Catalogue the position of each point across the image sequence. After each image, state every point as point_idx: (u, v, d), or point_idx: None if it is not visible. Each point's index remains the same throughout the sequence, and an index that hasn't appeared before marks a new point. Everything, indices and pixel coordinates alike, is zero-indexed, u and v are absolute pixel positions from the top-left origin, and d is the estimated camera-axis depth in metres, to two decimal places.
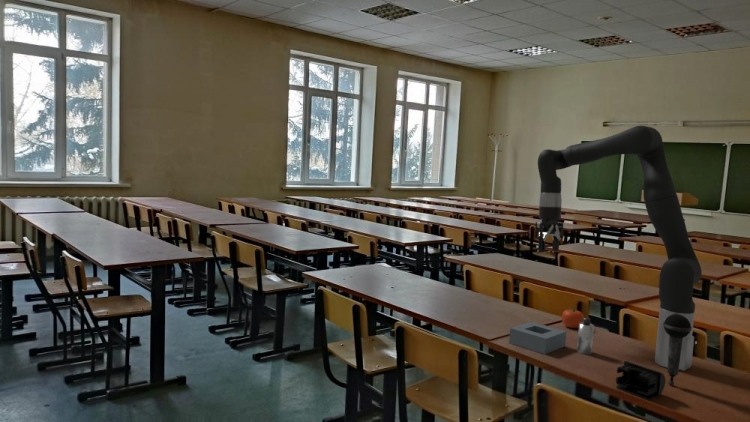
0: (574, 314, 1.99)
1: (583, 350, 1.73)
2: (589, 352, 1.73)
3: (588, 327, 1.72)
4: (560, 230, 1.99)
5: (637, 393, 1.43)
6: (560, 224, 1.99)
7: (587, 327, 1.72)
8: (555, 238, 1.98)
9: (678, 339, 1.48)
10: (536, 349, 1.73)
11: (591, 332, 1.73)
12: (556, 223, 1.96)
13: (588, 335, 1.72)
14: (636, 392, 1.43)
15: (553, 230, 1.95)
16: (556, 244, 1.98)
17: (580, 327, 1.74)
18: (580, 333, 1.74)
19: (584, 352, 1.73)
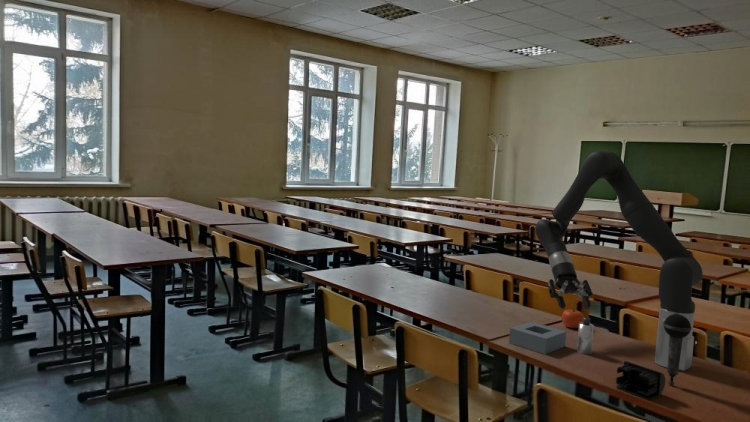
0: (574, 314, 1.99)
1: (583, 350, 1.73)
2: (589, 352, 1.73)
3: (588, 327, 1.72)
4: (586, 288, 1.86)
5: (637, 393, 1.43)
6: (583, 282, 1.88)
7: (587, 327, 1.72)
8: (583, 296, 1.85)
9: (678, 339, 1.48)
10: (536, 349, 1.73)
11: (591, 332, 1.73)
12: (575, 280, 1.87)
13: (588, 335, 1.72)
14: (636, 392, 1.43)
15: (572, 287, 1.85)
16: (585, 301, 1.83)
17: (580, 327, 1.74)
18: (580, 333, 1.74)
19: (584, 352, 1.73)
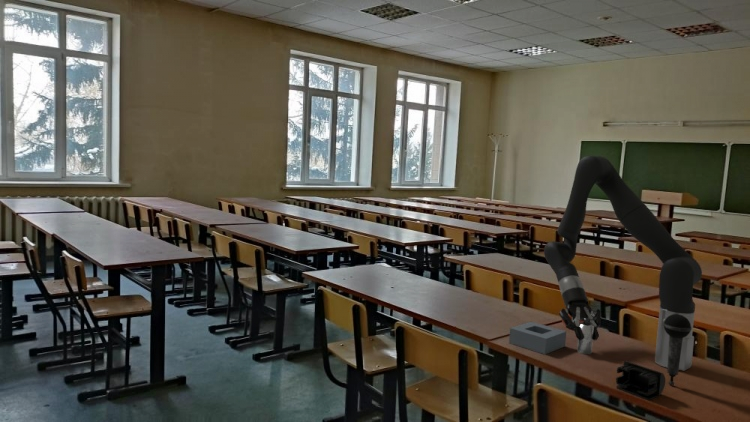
0: None
1: (583, 350, 1.73)
2: (589, 352, 1.73)
3: (588, 327, 1.72)
4: (596, 317, 1.78)
5: (637, 393, 1.43)
6: (596, 311, 1.79)
7: (587, 327, 1.72)
8: None
9: (678, 339, 1.48)
10: (536, 349, 1.73)
11: (591, 332, 1.73)
12: (587, 306, 1.79)
13: (588, 335, 1.72)
14: (636, 392, 1.43)
15: (583, 313, 1.77)
16: None
17: (580, 327, 1.74)
18: None
19: (584, 352, 1.73)
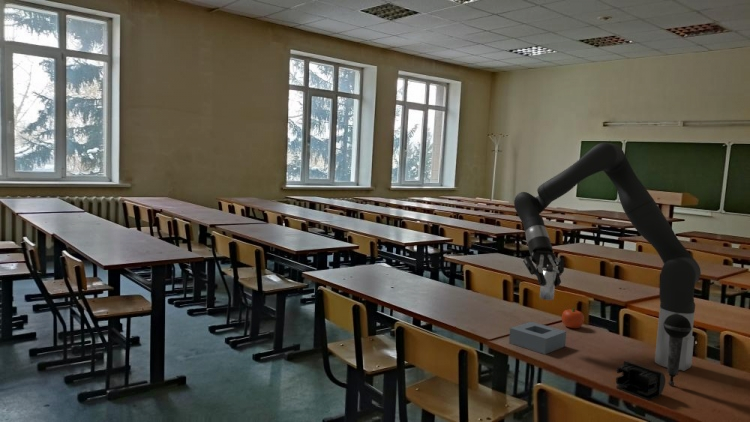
0: (574, 314, 1.99)
1: (545, 296, 1.77)
2: (551, 298, 1.77)
3: (550, 273, 1.76)
4: (560, 264, 1.81)
5: (637, 393, 1.43)
6: (560, 259, 1.82)
7: (549, 273, 1.76)
8: None
9: (678, 339, 1.48)
10: (536, 349, 1.73)
11: (553, 278, 1.76)
12: (551, 255, 1.82)
13: (550, 281, 1.76)
14: (636, 392, 1.43)
15: (546, 260, 1.81)
16: None
17: (543, 273, 1.77)
18: None
19: (546, 297, 1.77)
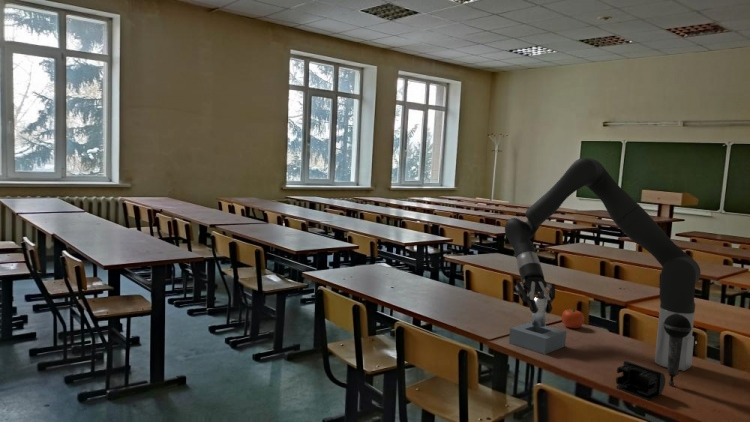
0: (574, 314, 1.99)
1: (537, 323, 1.78)
2: (542, 325, 1.78)
3: (541, 300, 1.77)
4: (551, 291, 1.82)
5: (637, 393, 1.43)
6: (551, 285, 1.83)
7: (540, 300, 1.77)
8: None
9: (678, 339, 1.48)
10: (536, 349, 1.73)
11: (544, 305, 1.77)
12: (542, 281, 1.84)
13: (541, 308, 1.77)
14: (636, 392, 1.43)
15: (537, 287, 1.82)
16: (547, 305, 1.79)
17: (534, 300, 1.78)
18: None
19: (538, 325, 1.78)
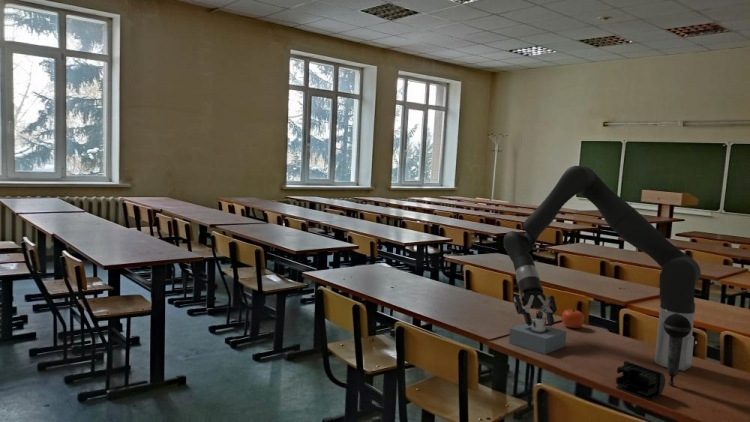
0: (574, 314, 1.99)
1: None
2: None
3: (540, 320, 1.77)
4: (551, 303, 1.83)
5: (637, 393, 1.43)
6: (550, 298, 1.84)
7: (539, 320, 1.77)
8: (547, 313, 1.81)
9: (678, 339, 1.48)
10: (536, 349, 1.73)
11: (543, 325, 1.78)
12: (541, 295, 1.84)
13: (540, 328, 1.78)
14: (636, 392, 1.43)
15: (537, 301, 1.82)
16: (549, 317, 1.79)
17: (533, 320, 1.79)
18: (533, 326, 1.79)
19: None
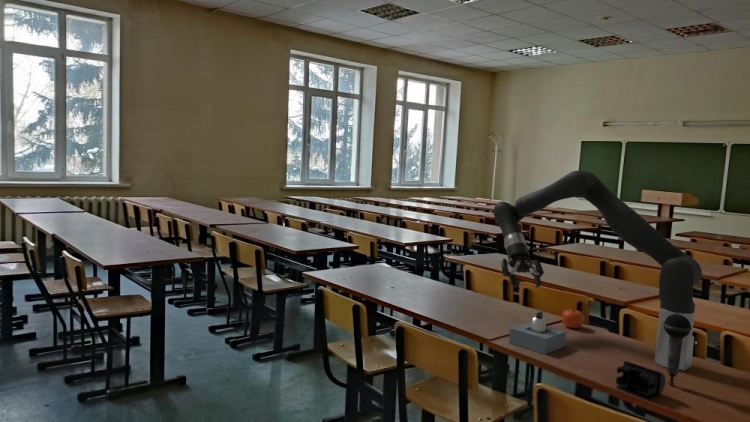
0: (574, 314, 1.99)
1: None
2: None
3: (540, 320, 1.77)
4: (538, 267, 1.94)
5: (637, 393, 1.43)
6: (536, 262, 1.96)
7: (539, 320, 1.77)
8: (534, 275, 1.93)
9: (678, 339, 1.48)
10: (536, 349, 1.73)
11: (543, 325, 1.78)
12: (528, 260, 1.95)
13: (540, 328, 1.78)
14: (636, 392, 1.43)
15: (525, 266, 1.93)
16: (536, 279, 1.91)
17: (533, 320, 1.79)
18: (533, 326, 1.79)
19: None
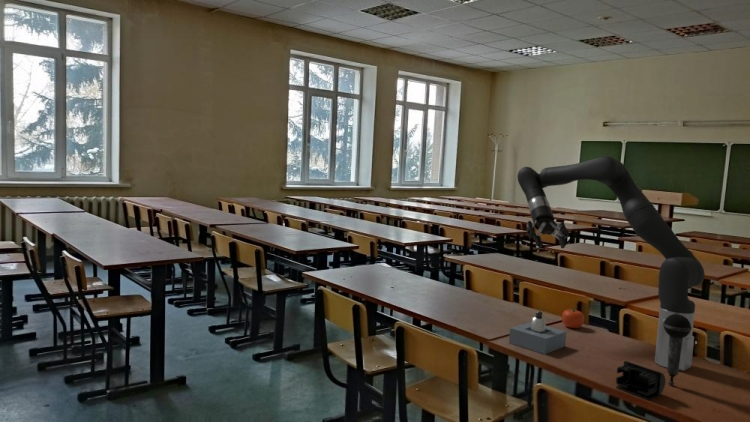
0: (574, 314, 1.99)
1: None
2: None
3: (540, 320, 1.77)
4: (562, 229, 1.97)
5: (637, 393, 1.43)
6: (560, 224, 1.99)
7: (539, 320, 1.77)
8: (559, 237, 1.96)
9: (678, 339, 1.48)
10: (536, 349, 1.73)
11: (543, 325, 1.78)
12: (552, 222, 1.98)
13: (540, 328, 1.78)
14: (636, 392, 1.43)
15: (550, 228, 1.96)
16: (561, 240, 1.94)
17: (532, 320, 1.79)
18: (532, 326, 1.79)
19: None
